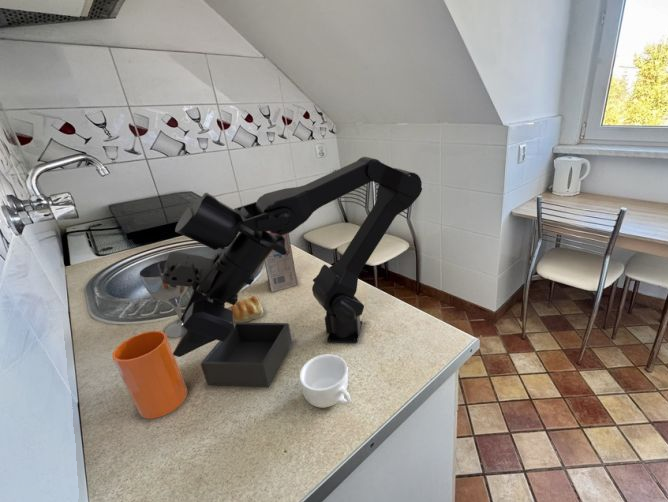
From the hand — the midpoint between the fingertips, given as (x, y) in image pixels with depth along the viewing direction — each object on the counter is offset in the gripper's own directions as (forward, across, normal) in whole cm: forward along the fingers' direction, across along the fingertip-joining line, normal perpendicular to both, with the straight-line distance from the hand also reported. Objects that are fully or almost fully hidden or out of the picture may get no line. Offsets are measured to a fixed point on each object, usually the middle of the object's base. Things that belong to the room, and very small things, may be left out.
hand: (180, 337), depth 52 cm
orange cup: (+12, 0, +5) cm, 13 cm away
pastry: (+2, -19, +14) cm, 24 cm away
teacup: (-6, +13, +22) cm, 27 cm away
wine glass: (+11, -22, +5) cm, 25 cm away
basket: (+2, -2, +14) cm, 15 cm away
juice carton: (-5, -30, +21) cm, 37 cm away
